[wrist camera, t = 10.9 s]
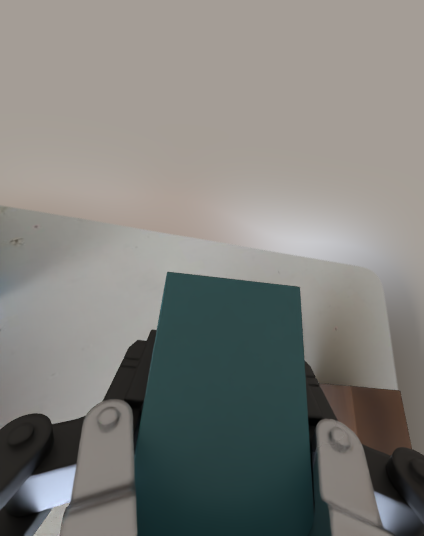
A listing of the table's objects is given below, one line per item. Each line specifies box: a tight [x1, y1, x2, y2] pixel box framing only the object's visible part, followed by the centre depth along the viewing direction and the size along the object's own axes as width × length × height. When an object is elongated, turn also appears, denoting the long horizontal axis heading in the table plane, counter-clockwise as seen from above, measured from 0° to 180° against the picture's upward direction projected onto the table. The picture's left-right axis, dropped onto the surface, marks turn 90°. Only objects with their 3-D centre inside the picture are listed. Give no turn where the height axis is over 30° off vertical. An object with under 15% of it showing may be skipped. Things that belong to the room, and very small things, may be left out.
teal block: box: [134, 272, 314, 536], centre depth 11 cm, size 5×8×10 cm, turn 175°
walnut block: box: [319, 383, 412, 456], centre depth 23 cm, size 5×8×7 cm, turn 175°
